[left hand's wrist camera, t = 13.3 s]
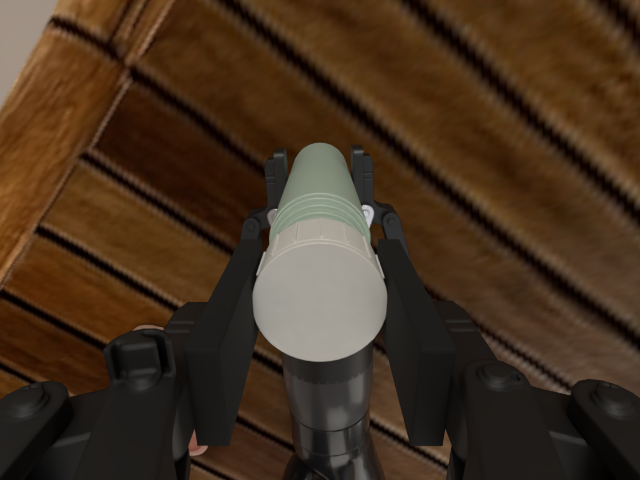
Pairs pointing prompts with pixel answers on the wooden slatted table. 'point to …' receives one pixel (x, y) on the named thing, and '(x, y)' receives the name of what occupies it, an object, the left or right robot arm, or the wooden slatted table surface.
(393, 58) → the wooden slatted table surface
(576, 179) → the wooden slatted table surface
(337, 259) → the cap
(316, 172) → the bottle
